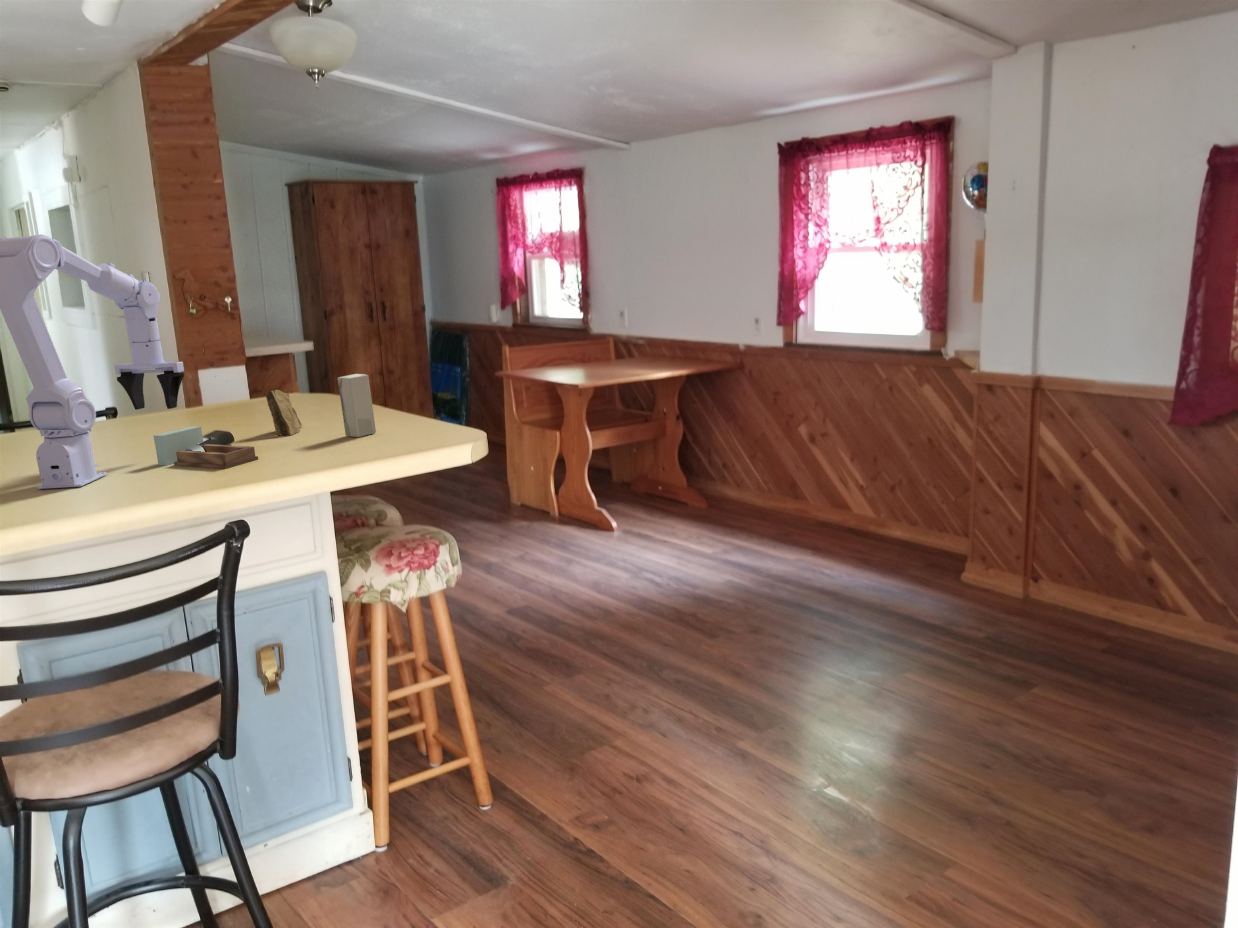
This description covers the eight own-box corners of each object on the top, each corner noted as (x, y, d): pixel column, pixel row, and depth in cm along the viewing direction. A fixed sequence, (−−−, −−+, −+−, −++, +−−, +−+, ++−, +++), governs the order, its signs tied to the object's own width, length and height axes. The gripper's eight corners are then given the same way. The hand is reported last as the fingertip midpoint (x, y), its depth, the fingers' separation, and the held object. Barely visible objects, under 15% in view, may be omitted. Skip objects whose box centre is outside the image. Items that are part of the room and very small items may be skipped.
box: (364, 431, 209) (357, 373, 206) (376, 433, 206) (369, 374, 203) (343, 436, 205) (336, 376, 202) (356, 438, 202) (348, 377, 199)
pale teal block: (196, 455, 195) (192, 426, 193) (205, 455, 194) (201, 426, 192) (158, 465, 187) (153, 435, 186) (167, 466, 186) (162, 435, 185)
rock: (285, 416, 222) (252, 418, 213) (301, 386, 219) (267, 387, 210) (314, 445, 219) (281, 449, 210) (331, 416, 216) (298, 418, 207)
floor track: (258, 459, 186) (256, 446, 186) (225, 468, 180) (223, 455, 179) (207, 456, 193) (205, 443, 192) (174, 465, 186) (172, 452, 185)
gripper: (189, 338, 194) (199, 404, 197) (127, 340, 197) (138, 405, 200) (165, 341, 187) (177, 410, 190) (102, 344, 190) (114, 411, 193)
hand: (155, 408), depth 195 cm, fingers open, 7 cm apart
